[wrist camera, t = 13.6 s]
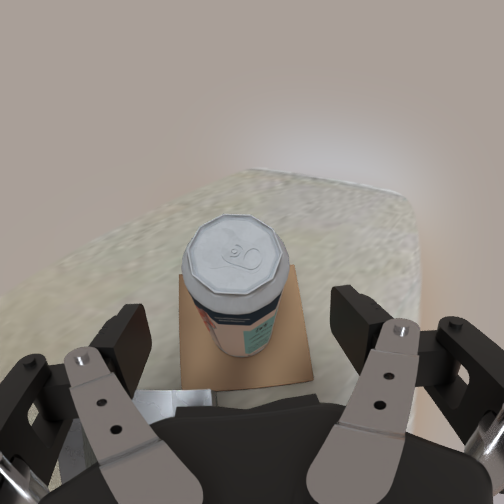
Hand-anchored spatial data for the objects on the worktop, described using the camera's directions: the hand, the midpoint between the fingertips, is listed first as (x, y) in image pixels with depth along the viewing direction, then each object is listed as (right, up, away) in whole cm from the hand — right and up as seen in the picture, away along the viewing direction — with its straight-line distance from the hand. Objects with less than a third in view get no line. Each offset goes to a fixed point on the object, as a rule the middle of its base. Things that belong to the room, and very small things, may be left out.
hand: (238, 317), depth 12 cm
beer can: (0, -3, +11) cm, 11 cm away
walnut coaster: (0, -3, +11) cm, 12 cm away
